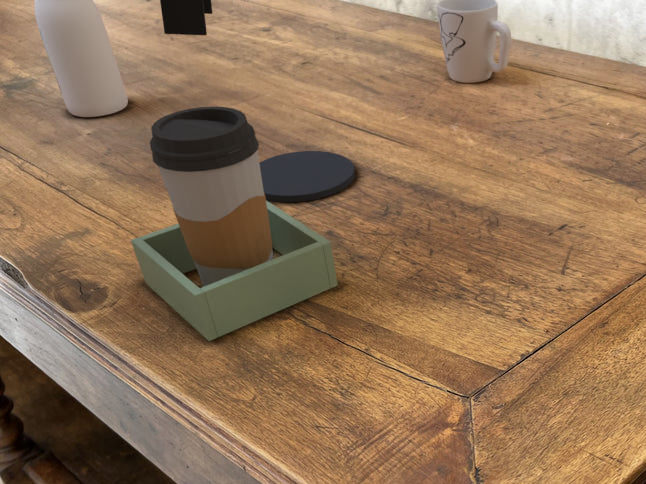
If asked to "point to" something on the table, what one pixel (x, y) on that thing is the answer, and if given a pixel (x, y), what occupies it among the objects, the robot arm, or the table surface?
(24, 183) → the table surface
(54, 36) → the milk bottle
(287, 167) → the slate mat
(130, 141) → the table surface
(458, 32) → the mug
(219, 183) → the coffee cup
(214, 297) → the frame
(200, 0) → the robot arm
